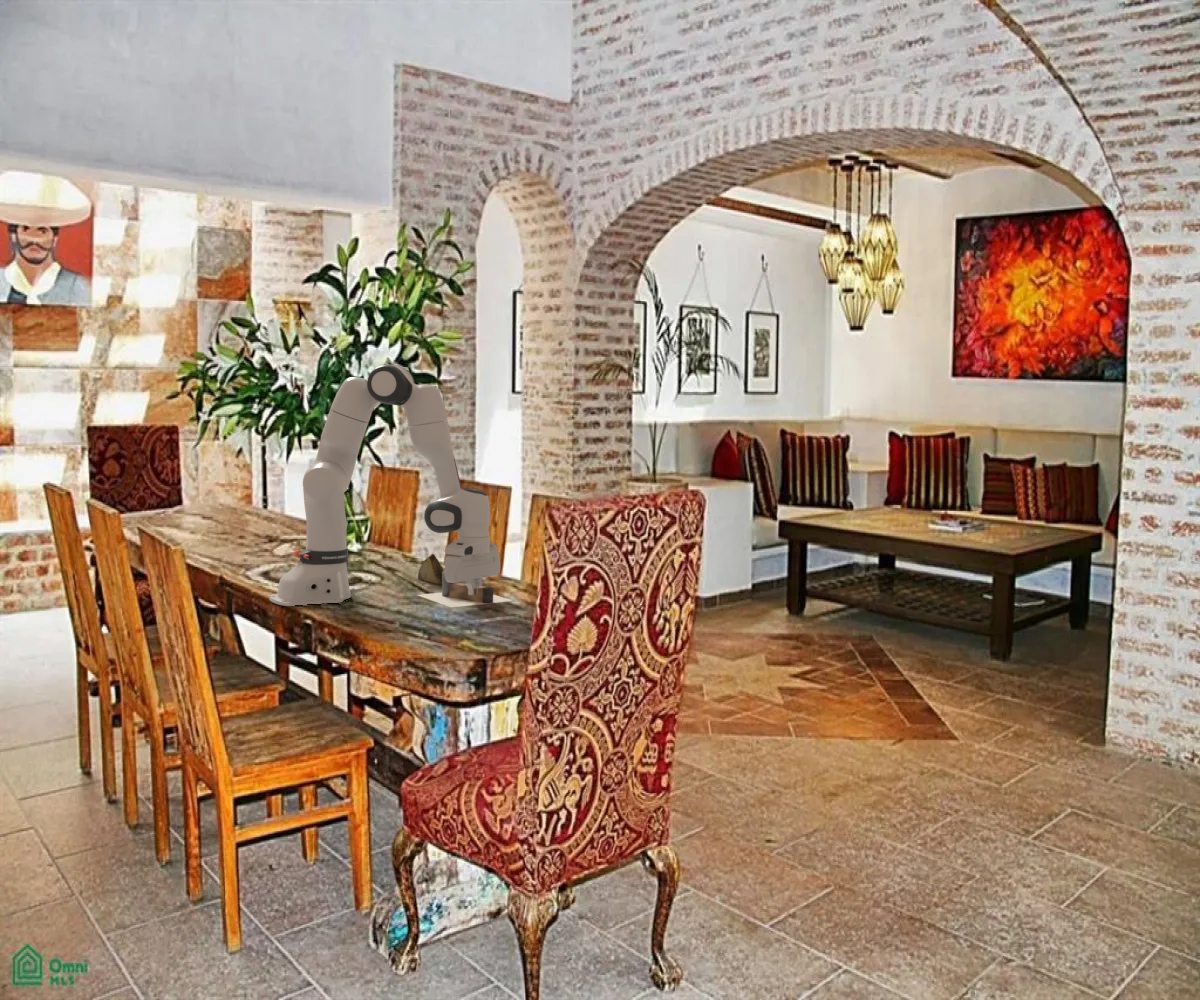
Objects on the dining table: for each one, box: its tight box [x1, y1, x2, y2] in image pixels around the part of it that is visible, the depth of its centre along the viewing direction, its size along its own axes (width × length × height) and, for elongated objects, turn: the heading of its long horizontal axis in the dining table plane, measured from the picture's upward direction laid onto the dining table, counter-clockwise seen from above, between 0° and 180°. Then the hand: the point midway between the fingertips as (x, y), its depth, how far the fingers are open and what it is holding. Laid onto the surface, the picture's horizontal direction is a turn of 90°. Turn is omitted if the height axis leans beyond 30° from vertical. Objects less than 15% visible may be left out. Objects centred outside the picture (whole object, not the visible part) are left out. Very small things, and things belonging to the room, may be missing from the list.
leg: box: [449, 582, 494, 604], centre depth 319 cm, size 14×3×4 cm, turn 59°
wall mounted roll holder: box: [417, 570, 513, 608], centre depth 321 cm, size 20×20×8 cm
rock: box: [417, 553, 444, 585], centre depth 347 cm, size 11×9×10 cm
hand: (473, 594), depth 315 cm, fingers closed
